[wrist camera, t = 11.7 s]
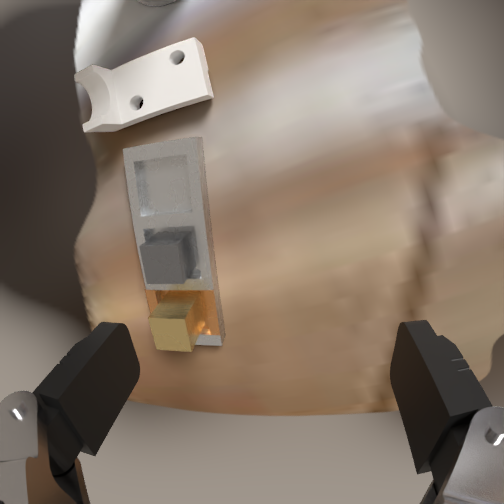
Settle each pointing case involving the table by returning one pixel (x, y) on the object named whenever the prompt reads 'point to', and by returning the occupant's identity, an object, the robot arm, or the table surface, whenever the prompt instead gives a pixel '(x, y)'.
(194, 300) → the yellow gold block
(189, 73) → the bracket
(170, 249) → the brushed steel cube
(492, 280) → the table surface
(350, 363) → the table surface
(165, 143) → the grey long flat tray
